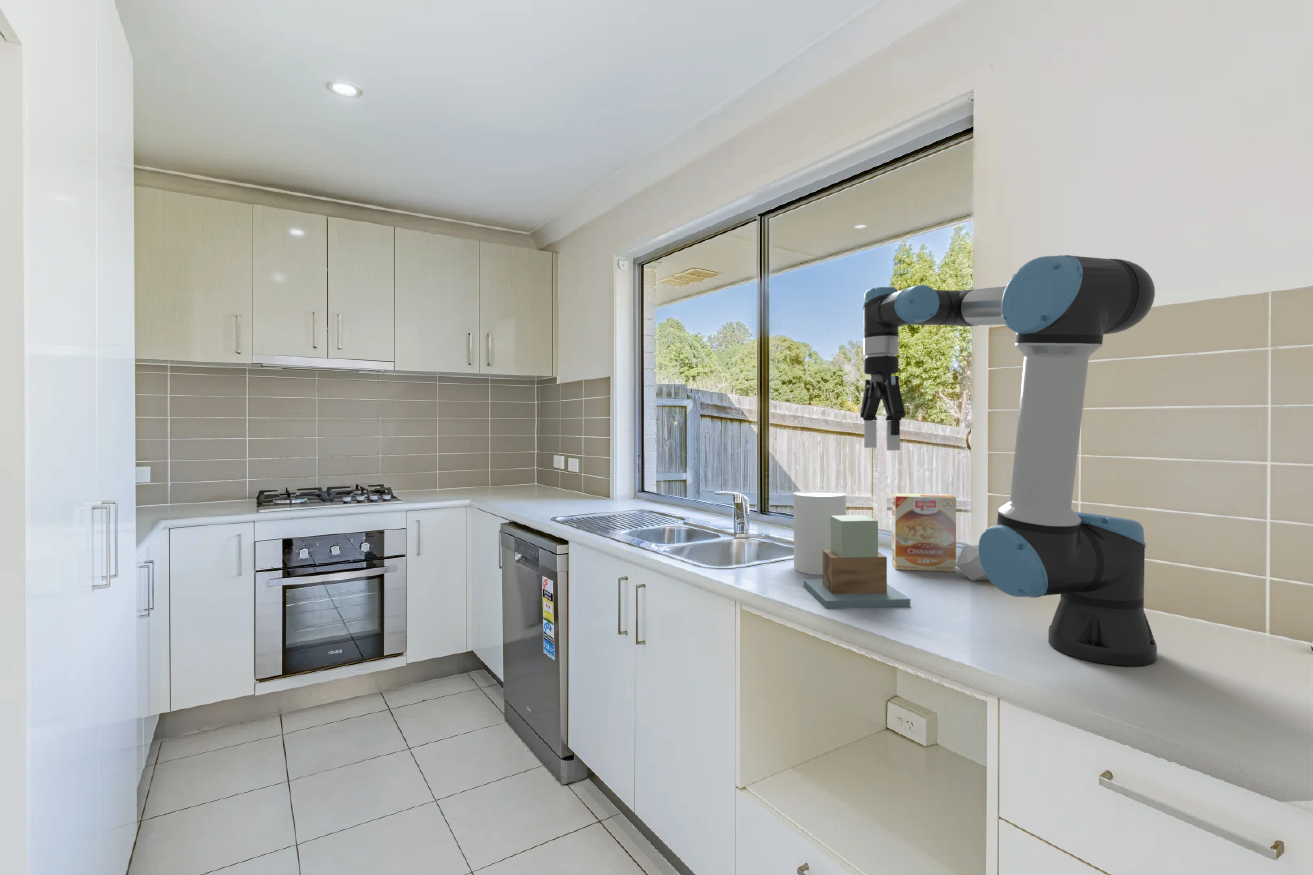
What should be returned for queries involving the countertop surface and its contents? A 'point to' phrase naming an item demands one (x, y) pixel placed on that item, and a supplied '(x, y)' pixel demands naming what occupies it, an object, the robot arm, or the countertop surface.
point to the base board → (855, 597)
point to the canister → (814, 527)
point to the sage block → (854, 536)
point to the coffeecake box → (924, 532)
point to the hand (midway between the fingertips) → (881, 449)
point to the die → (971, 563)
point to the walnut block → (854, 574)
